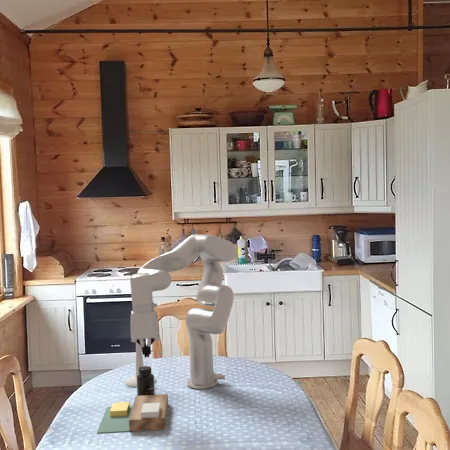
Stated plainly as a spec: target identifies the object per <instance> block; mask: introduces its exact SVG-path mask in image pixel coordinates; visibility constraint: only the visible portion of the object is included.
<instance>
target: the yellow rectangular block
mask: <svg viewBox="0 0 450 450" xmlns="http://www.w3.org/2000/svg"><path fill="white" fill-rule="evenodd" d="M130 406H131V405H130V401H124V402H123V401H121V402H113V403H112V405H111V406H110V407H111V410H110V417H114V416H127V414H128V411H129V407H130Z"/></svg>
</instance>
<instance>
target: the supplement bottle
mask: <svg viewBox="0 0 450 450" xmlns="http://www.w3.org/2000/svg"><path fill="white" fill-rule="evenodd" d="M154 378H155V375H154V374H153V373H152V367H151V366H150V365H144V366H143V367H140V368H139V375H138V376H137V388H136V396H143V395H156V391H155V387H156V386H155V383H154Z"/></svg>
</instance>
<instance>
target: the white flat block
mask: <svg viewBox="0 0 450 450" xmlns="http://www.w3.org/2000/svg"><path fill="white" fill-rule="evenodd" d="M159 413H160V403H143V406H142V410H141V418H155V417H159Z"/></svg>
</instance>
